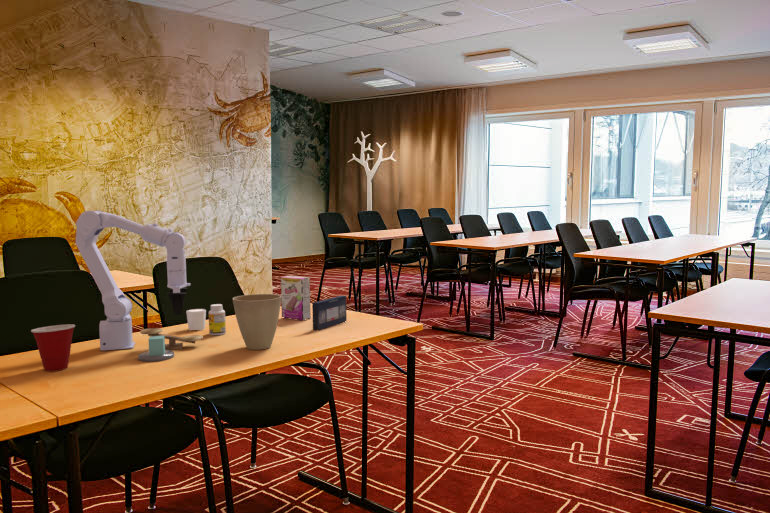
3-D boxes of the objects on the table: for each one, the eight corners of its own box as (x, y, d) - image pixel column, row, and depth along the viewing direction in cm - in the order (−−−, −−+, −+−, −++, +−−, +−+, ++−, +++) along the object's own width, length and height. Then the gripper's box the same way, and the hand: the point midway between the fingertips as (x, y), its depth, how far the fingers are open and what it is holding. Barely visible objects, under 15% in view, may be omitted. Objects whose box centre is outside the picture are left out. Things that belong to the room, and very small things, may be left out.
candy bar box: (280, 318, 241) (279, 277, 239) (289, 316, 245) (288, 275, 244) (303, 321, 235) (302, 278, 233) (311, 318, 239) (310, 277, 238)
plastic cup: (67, 361, 178) (64, 320, 177) (84, 367, 171) (82, 325, 170) (26, 369, 170) (23, 327, 169) (43, 376, 163) (40, 331, 162)
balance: (140, 352, 188) (139, 332, 187) (142, 348, 194) (141, 328, 193) (203, 348, 193) (202, 328, 192) (203, 343, 199) (202, 324, 198)
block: (149, 356, 179) (148, 339, 179) (151, 352, 183) (150, 336, 182) (163, 355, 180) (163, 338, 180) (165, 352, 184) (164, 335, 183)
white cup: (203, 331, 218) (202, 311, 218) (184, 331, 219) (183, 312, 218) (209, 327, 225) (208, 308, 225) (190, 327, 225) (189, 308, 225)
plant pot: (290, 343, 198) (289, 294, 196) (269, 354, 184) (268, 301, 182) (248, 340, 202) (247, 292, 200) (225, 351, 188) (223, 300, 186)
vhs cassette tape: (318, 330, 217) (317, 303, 216) (311, 330, 218) (310, 302, 218) (347, 321, 232) (347, 295, 232) (341, 321, 234) (341, 295, 233)
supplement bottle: (209, 333, 215) (207, 304, 214) (225, 331, 217) (224, 303, 216) (209, 336, 210) (208, 306, 209) (226, 335, 211) (225, 305, 211)
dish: (136, 363, 175) (136, 359, 175) (140, 354, 185) (139, 351, 185) (173, 360, 178) (173, 356, 178) (175, 352, 188) (174, 348, 188)
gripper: (189, 272, 191) (191, 315, 192) (190, 267, 204) (192, 307, 206) (165, 273, 189) (167, 316, 190) (167, 268, 202) (169, 309, 204)
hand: (178, 312), depth 198 cm, fingers open, 7 cm apart
